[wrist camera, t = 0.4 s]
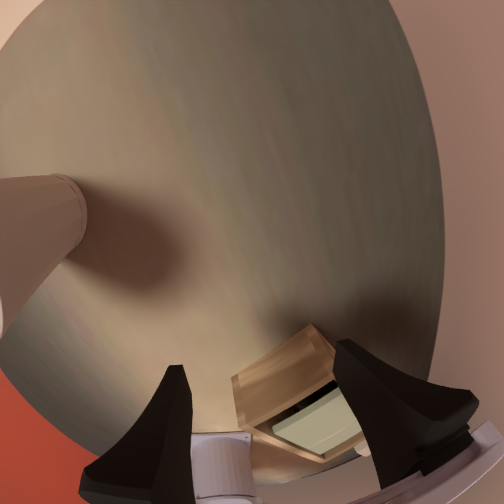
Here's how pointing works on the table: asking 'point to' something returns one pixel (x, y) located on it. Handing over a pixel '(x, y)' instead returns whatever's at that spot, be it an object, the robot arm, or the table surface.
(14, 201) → the cup
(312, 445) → the pale grey flat block
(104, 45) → the table surface
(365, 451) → the pinkish beige block
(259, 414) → the box
